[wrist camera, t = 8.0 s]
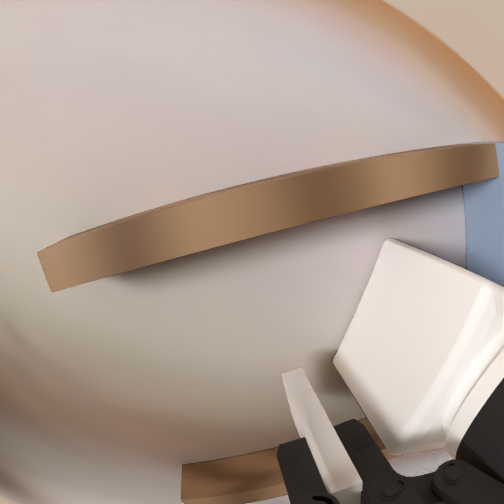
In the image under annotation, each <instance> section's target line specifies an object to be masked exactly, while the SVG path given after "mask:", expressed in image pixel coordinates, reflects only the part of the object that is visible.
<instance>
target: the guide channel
mask: <svg viewBox="0 0 504 504" xmlns="http://www.w3.org/2000/svg"><path fill="white" fill-rule="evenodd" d="M494 177H499V167H498V159H497V152H496V146H495V143H489V144H457V145H448V146H441V147H433V148H426V149H419V150H412V151H405V152H399V153H393V154H386V155H380V156H375V157H369V158H363V159H358V160H352V161H347V162H342V163H337V164H332V165H327V166H322V167H317V168H312V169H307V170H303V171H298V172H293V173H289V174H284V175H280V176H276V177H271V178H267V179H263V180H259V181H254V182H250V183H246V184H242V185H238V186H234V187H230V188H226V189H223V190H219V191H215V192H211V193H207V194H204V195H200V196H196V197H193V198H189V199H186V200H182V201H179V202H175V203H172V204H168V205H165V206H161V207H158V208H155V209H151V210H148V211H145V212H142V213H138V214H135V215H132V216H129V217H126V218H123V219H119V220H116V221H113V222H110V223H107V224H104V225H101V226H98V227H95V228H92V229H89V230H87V231H84V232H81V233H78V234H75V235H72V236H69V237H67V238H65V239H63V240H61V241H59V242H57V243H55V244H53V245H51V246H49V247H47V248H45V249H43V250H41V251H39V252H37V254H38V257H39V260H40V263H41V265H42V268H43V271H44V274H45V277H46V279H47V282H48V284H49V287H50V290H51V292H56V291H59V290H63V289H66V288H70V287H73V286H77V285H80V284H84V283H87V282H91V281H94V280H98V279H101V278H105V277H108V276H112V275H115V274H119V273H123V272H126V271H130V270H133V269H137V268H141V267H144V266H148V265H151V264H155V263H159V262H162V261H166V260H170V259H173V258H177V257H181V256H184V255H188V254H192V253H196V252H199V251H203V250H207V249H210V248H214V247H218V246H222V245H225V244H229V243H233V242H237V241H240V240H244V239H248V238H252V237H256V236H259V235H263V234H267V233H271V232H275V231H279V230H283V229H286V228H290V227H294V226H298V225H302V224H306V223H310V222H314V221H318V220H321V219H325V218H329V217H333V216H337V215H341V214H345V213H349V212H353V211H357V210H361V209H365V208H369V207H373V206H377V205H381V204H385V203H389V202H393V201H398V200H402V199H406V198H410V197H414V196H418V195H422V194H426V193H431V192H435V191H439V190H443V189H447V188H452V187H456V186H460V185H464V184H469V183H473V182H477V181H481V180H486V179H490V178H494ZM358 422H360V423H362V424H363V425H365V427H366V428H367V430H368V432H369V433H370V435H371V436H372V438H373V439H374V441H375V443H376V444H377V445H378V447H379V448H380V450H381V451H382V453H383V454H384V456H385V457H386V459H387V460H388V459H390V458H392V457H395V456H397V455H391V454H390V453H388V451H387V450H386V448H385V446H384V445H383V443H382V442H381V440H380V438H379V437H378V435H377V433H376V432H375V430H374V429H373V427H372V425H371V424H370V422H369V420H368V419H367V418H365V419H362V420H360V421H358ZM278 448H279V447H276V448H273V449H269V450H264V451H260V452H256V453H251V454H247V455H242V456H237V457H232V458H226V459H220V460H214V461H208V462H201V463H194V464H186V465H182V485H181V500H182V501H183V503H184V504H245V503H251V502H256V501H261V500H266V499H271V498H275V497H279V496H284V495H288V493H287V490H286V486H285V483H284V480H283V476H282V473H281V470H280V466H279V463H278V459H277V452H278Z"/></svg>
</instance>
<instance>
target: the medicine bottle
mask: <svg viewBox="0 0 504 504" xmlns="http://www.w3.org/2000/svg"><path fill="white" fill-rule="evenodd" d="M333 364H334V366H335V367H336V369H337V371H338V372H339V374H340V375H341V377H342V379H343V380H344V382H345V383H346V385H347V387H348V388H349V390H350V391H351V393H352V395H353V396H354V398H355V400H356V401H357V403H358V404H359V406H360V408H361V409H362V411H363V412H364V414H365V416H366V417H367V419H368V420H369V422H370V424H371V425H372V427H373V429H374V430H375V432H376V433H377V435H378V437H379V438H380V440H381V442H382V443H383V445H384V446H385V448H386V450H387V451H388V453H390V454H391V455H402V454H409V453H416V452H422V451H428V450H433V449H438V448H443V447H446V450H447V452H448V453H449V454H450V455H451V457H452V458H453V459H454V460H462V461H465V462H467V463H468V464H470V465H472V466H473V467H475V468H477V469H478V470H480V471H482V472H483V473H485V474H487V475H488V476H490V477H492V478H494V479H495V480H497V481H499V482H500V483H502V484H504V287H502V286H500V285H498V284H496V283H494V282H492V281H490V280H488V279H486V278H484V277H482V276H480V275H477V274H475V273H473V272H471V271H469V270H466V269H464V268H462V267H460V266H457V265H455V264H453V263H451V262H448V261H446V260H444V259H441V258H439V257H437V256H434V255H432V254H430V253H427V252H425V251H422V250H420V249H418V248H415V247H413V246H410V245H408V244H405V243H403V242H400V241H398V240H395V239H393V238H388V239H386V240H385V241H384V242H383V245H382V247H381V250H380V253H379V256H378V258H377V261H376V263H375V266H374V269H373V271H372V274H371V276H370V279H369V281H368V284H367V286H366V288H365V291H364V293H363V296H362V298H361V300H360V303H359V305H358V307H357V310H356V312H355V314H354V316H353V319H352V321H351V323H350V325H349V327H348V330H347V332H346V334H345V336H344V338H343V340H342V342H341V344H340V347H339V349H338V351H337V353H336V355H335V357H334V359H333Z"/></svg>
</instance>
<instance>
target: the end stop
mask: <svg viewBox="0 0 504 504" xmlns="http://www.w3.org/2000/svg"><path fill="white" fill-rule="evenodd" d="M489 143H495V146H496V152H497V159H498V167H499V177H494V178H490V179H486V180H481V181H477V182H473V183H469V184H464V185H463V194H464V206H465V220H466V245H467V270H469V271H471V272H473V273H475V274H477V275H480V276H482V277H484V278H486V279H488V280H490V281H492V282H494V283H496V284H498V285H500V286H502V287H504V142H475V143H465V144H489Z"/></svg>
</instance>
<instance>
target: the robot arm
mask: <svg viewBox="0 0 504 504" xmlns="http://www.w3.org/2000/svg"><path fill="white" fill-rule="evenodd" d="M281 375H282V379H283V383H284V387H285V391H286V395H287V399H288V403H289V407H290V411H291V415H292V417H293V420H294V422H295V425H296V428H297V430H298V433H299V435H300V439H297V440H294V441H290V442H287V443H284V444H280V445H279V448H278V452H277V459H278V463H279V466H280V470H281V473H282V476H283V480H284V483H285V486H286V490H287V493H288V496H289V500H290V503H291V504H504V484H502V483H500V482H499V481H497V480H495V479H494V478H492V477H490V476H488V475H487V474H485V473H483V472H482V471H480V470H478V469H477V468H475V467H473V466H472V465H470V464H468V463H467V462H465V461H462V460H450V461H447V462H445V463H443V464H442V465H440V466H439V467H438V469H437V470H436V471H435V472H432V473H429V474H425V475H421V476H416V477H406V476H402V475H400V474H398V473H397V472H395V470H394V469H393V468H392V467H391V465H390V464H389V462H388V461H387V459H386V457H385V456H384V454H383V453H382V451H381V450H380V448H379V447H378V445H377V444H376V443H375V441H374V439H373V438H372V436H371V435H370V433H369V432H368V430H367V428H366V427H365V425H363V424H362V423H360V422H358V421H357V420H355V419H352V420H349V421H347V422H344V423H341V424H339V425H336V426H334V427H333V426H332V424H331V422H330V420H329V418H328V416H327V414H326V413H325V411H324V409H323V407H322V405H321V403H320V401H319V399H318V397H317V396H316V394H315V392H314V390H313V388H312V386H311V384H310V382H309V380H308V379H307V377H306V375H305V373H304V371H303V369H302V367H301V368H298V369H295V370H292V371H288V372H285V373H282V374H281Z"/></svg>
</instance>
